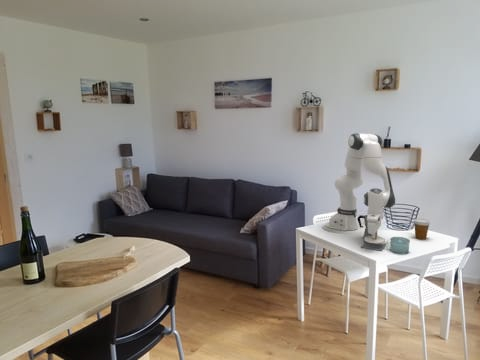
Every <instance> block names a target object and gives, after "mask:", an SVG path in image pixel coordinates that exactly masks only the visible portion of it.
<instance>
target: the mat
mask: <svg viewBox="0 0 480 360" xmlns="http://www.w3.org/2000/svg"><path fill="white" fill-rule="evenodd" d="M364 241H365V240H364ZM384 246H385V247H386V243H379V244H375V243H369V242H366V241H365V242H363V244H362V245H361V246H360V249H361V248H362V249H365V250H370V251H372V250H373V251H378V252H382V251H383V250H384V249H385V247H384Z"/></svg>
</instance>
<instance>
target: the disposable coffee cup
mask: <svg viewBox="0 0 480 360" xmlns="http://www.w3.org/2000/svg"><path fill="white" fill-rule="evenodd" d="M413 223H414V235H415V237H414V238H416V240H421V241H422V240H427V235H428V231H429V227H430V224H431V223H430V220H428V219H425V218H415V219H414V220H413Z"/></svg>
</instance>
